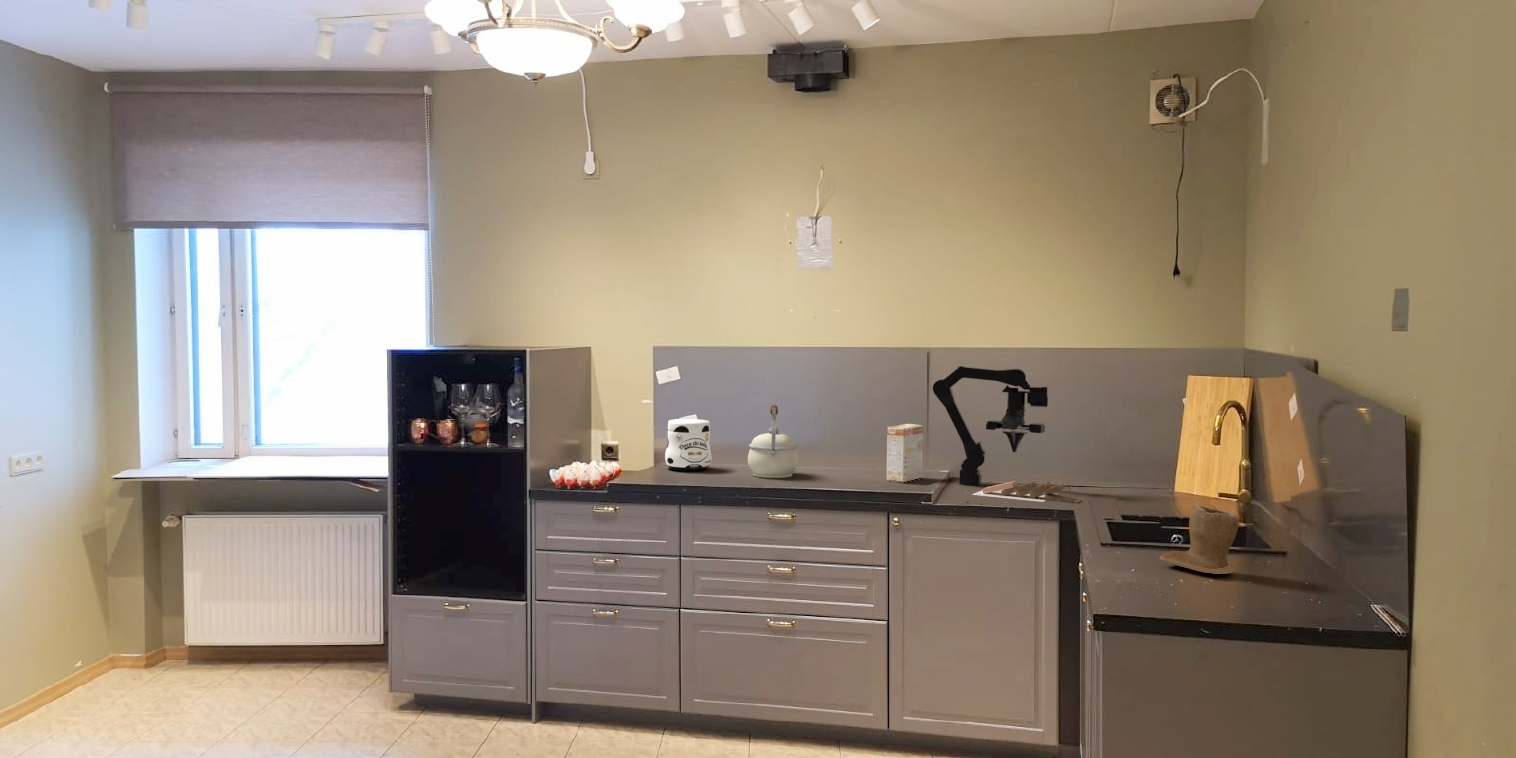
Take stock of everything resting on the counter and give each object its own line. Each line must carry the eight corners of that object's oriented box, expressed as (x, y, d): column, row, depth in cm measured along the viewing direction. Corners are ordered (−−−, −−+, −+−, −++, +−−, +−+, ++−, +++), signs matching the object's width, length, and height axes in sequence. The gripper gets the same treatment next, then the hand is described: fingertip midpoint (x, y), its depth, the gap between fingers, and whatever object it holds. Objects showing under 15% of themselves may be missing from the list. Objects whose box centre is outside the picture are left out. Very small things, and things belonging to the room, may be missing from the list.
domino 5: (1044, 494, 335) (1076, 502, 330) (1048, 492, 339) (1080, 499, 334) (1044, 499, 335) (1075, 507, 330) (1048, 497, 339) (1079, 504, 334)
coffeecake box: (905, 476, 387) (906, 423, 386) (922, 479, 383) (924, 424, 382) (885, 481, 375) (886, 426, 374) (903, 483, 371) (904, 427, 370)
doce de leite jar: (693, 474, 384) (693, 424, 383) (655, 469, 393) (656, 421, 392) (720, 468, 399) (721, 420, 398) (683, 464, 408) (684, 417, 407)
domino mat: (971, 498, 343) (971, 494, 343) (989, 490, 359) (989, 487, 359) (1043, 505, 332) (1043, 501, 332) (1057, 497, 347) (1058, 494, 347)
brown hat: (1248, 575, 244) (1251, 510, 243) (1214, 581, 238) (1217, 514, 237) (1191, 561, 257) (1193, 500, 256) (1158, 566, 251) (1160, 503, 250)
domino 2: (1001, 491, 342) (1030, 482, 337) (1005, 489, 346) (1034, 480, 341) (1002, 495, 342) (1032, 487, 337) (1007, 493, 346) (1036, 485, 341)
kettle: (798, 480, 374) (800, 409, 372) (746, 479, 374) (747, 408, 372) (797, 470, 399) (798, 403, 397) (748, 469, 399) (749, 402, 397)
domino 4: (1029, 493, 337) (1059, 485, 332) (1033, 491, 342) (1063, 483, 337) (1031, 498, 337) (1061, 490, 332) (1035, 496, 341) (1065, 488, 336)
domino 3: (1015, 492, 339) (1045, 483, 335) (1020, 490, 344) (1049, 481, 339) (1017, 497, 339) (1047, 488, 334) (1021, 495, 344) (1051, 486, 339)
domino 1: (982, 489, 345) (1011, 482, 340) (987, 487, 349) (1016, 480, 344) (983, 493, 345) (1012, 487, 340) (988, 491, 349) (1017, 485, 344)
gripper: (981, 405, 357) (980, 452, 358) (1037, 409, 347) (1035, 456, 348) (991, 403, 366) (990, 449, 367) (1046, 407, 357) (1044, 453, 358)
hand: (1014, 452), depth 360 cm, fingers closed
